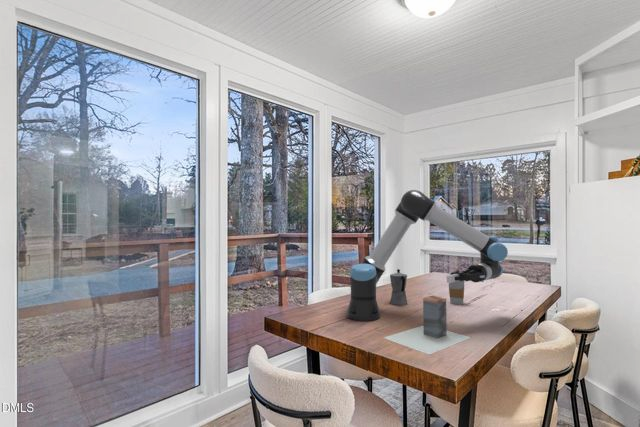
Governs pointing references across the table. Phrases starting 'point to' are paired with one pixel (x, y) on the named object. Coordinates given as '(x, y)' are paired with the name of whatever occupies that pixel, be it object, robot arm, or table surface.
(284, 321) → the table surface
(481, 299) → the table surface
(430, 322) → the slate block
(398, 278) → the coffeepot
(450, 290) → the coffee cup
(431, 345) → the sage mat
